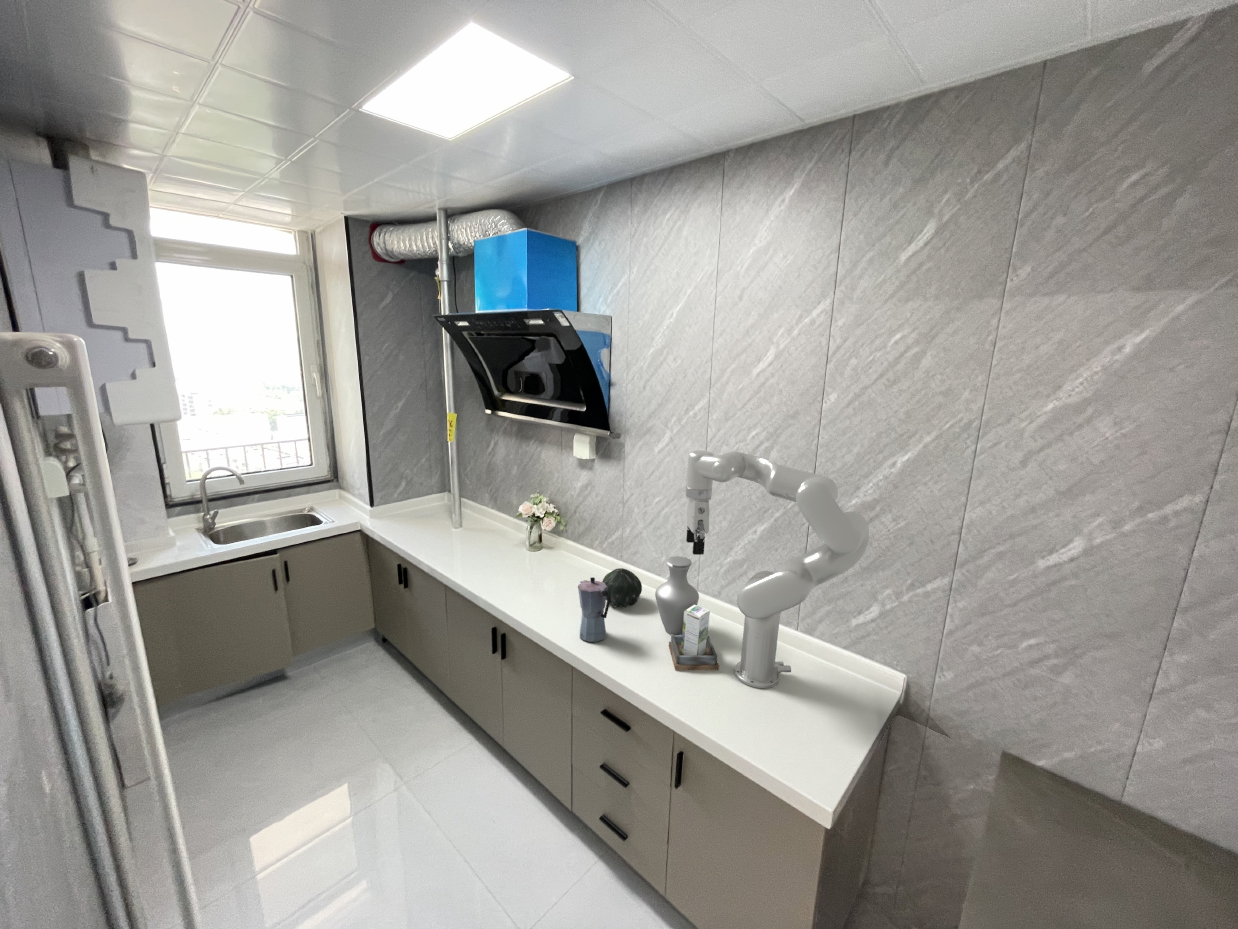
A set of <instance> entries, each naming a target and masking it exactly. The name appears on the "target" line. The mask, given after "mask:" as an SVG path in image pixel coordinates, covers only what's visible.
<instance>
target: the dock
mask: <svg viewBox="0 0 1238 929" xmlns="http://www.w3.org/2000/svg"><path fill="white" fill-rule="evenodd" d="M681 645H682V635H671V636H670V641H668V648H669V652H670V656H671V659H672V664H673V667H674V671H720V665H719V662H718V654H717V651H716V649H715V647H714V644H713V642H712V640H711V638H710V636H709V635H708V636H707V647H706V653H705V654H704V655H702V656H686V655H684V654H681Z"/></svg>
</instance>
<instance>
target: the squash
mask: <svg viewBox="0 0 1238 929" xmlns="http://www.w3.org/2000/svg"><path fill="white" fill-rule="evenodd" d="M601 582H604V583H605V584H606V586H607V593H608V595H609V596H610V604H612V605H613V607H614V608H619V607H621V608H627V607H628V606H633V605H635V604H636V603H637V602H638V601H639V598H640V596H641V594H642V590H643V586H642V581H641V580H640V578H639V577H638V576H637V575H636V574H635V573H634V572H633V571H630V570H629V569H626V568H621V567H620V568H615V569H613V570H612V571H610V572H608V573H607V574H606V575H604V577H603V579H602V581H601ZM606 601H607V597H606Z"/></svg>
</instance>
